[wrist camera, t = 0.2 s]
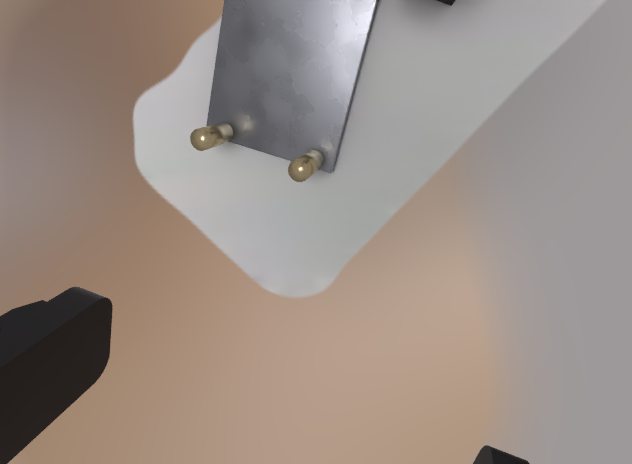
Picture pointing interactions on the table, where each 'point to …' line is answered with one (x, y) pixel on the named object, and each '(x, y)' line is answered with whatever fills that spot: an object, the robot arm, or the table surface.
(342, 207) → the table surface
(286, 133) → the chassis
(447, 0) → the electronic device
